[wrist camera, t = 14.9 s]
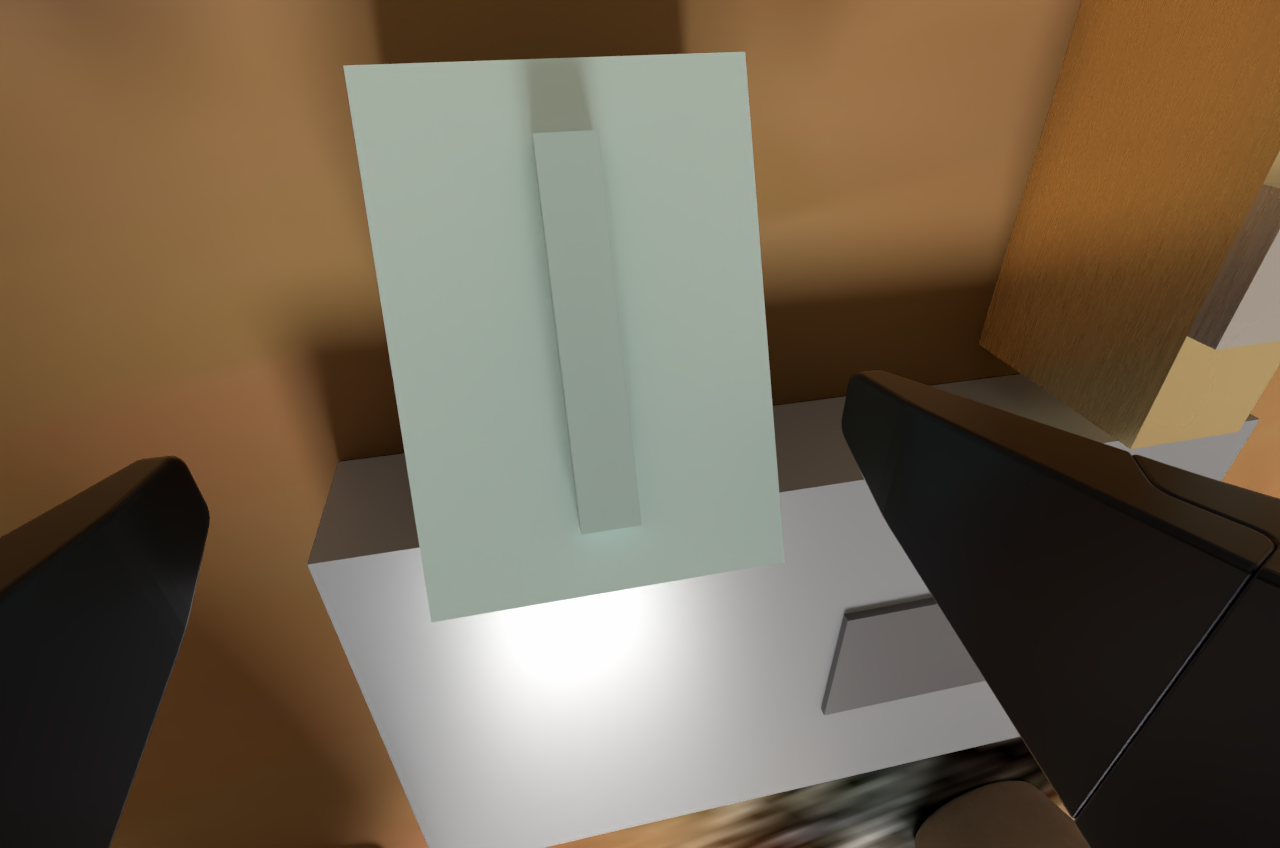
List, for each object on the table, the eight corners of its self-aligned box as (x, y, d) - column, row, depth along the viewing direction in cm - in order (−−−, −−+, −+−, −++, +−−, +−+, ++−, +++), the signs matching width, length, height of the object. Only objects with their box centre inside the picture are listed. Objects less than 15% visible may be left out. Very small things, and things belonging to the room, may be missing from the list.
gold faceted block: (1192, -11, 12) (1561, -15, 8) (1062, 331, 16) (1264, 446, 12) (1080, -7, 12) (1408, -10, 7) (975, 342, 15) (1153, 465, 11)
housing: (1006, 649, 23) (1072, 731, 21) (443, 766, 20) (438, 880, 18) (1145, 357, 17) (1268, 424, 14) (338, 461, 13) (304, 572, 11)
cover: (722, 511, 12) (795, 571, 9) (455, 552, 11) (426, 636, 8) (688, 128, 11) (756, 37, 8) (393, 143, 11) (333, 50, 7)
